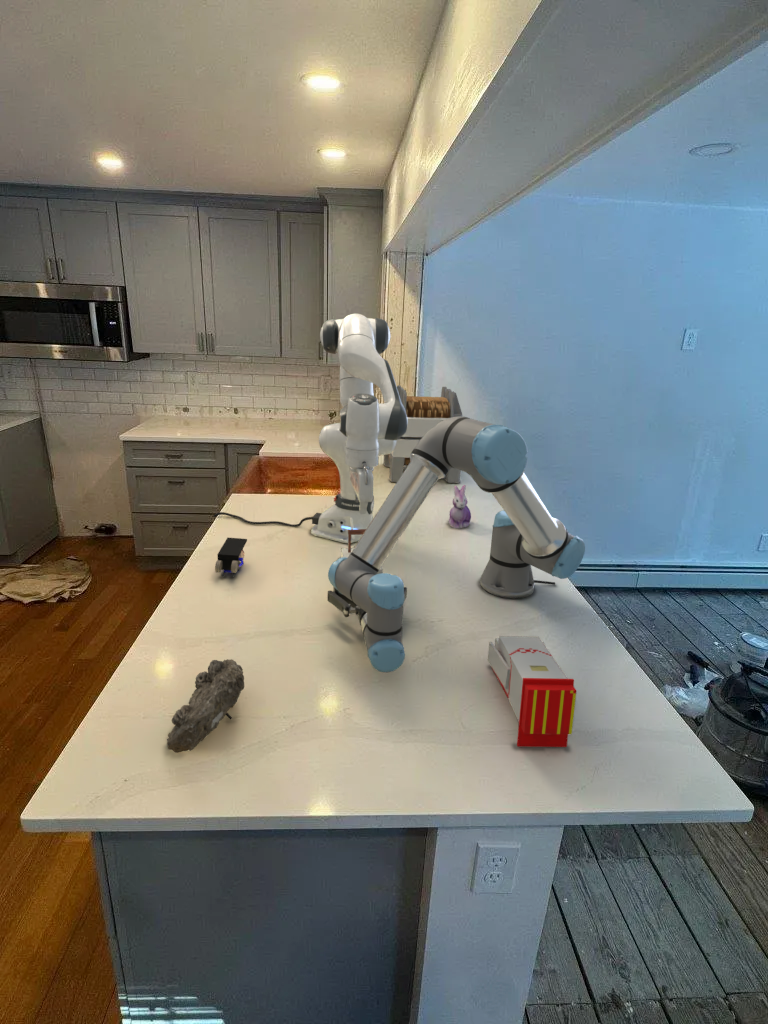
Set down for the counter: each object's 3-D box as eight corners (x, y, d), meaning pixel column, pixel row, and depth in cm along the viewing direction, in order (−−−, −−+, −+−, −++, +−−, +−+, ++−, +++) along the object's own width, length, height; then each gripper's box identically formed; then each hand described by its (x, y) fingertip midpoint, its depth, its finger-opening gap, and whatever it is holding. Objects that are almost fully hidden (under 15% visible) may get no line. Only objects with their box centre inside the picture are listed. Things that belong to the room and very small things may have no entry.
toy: (536, 619, 129) (586, 686, 99) (531, 673, 131) (578, 754, 102) (483, 618, 128) (517, 685, 99) (479, 672, 131) (511, 753, 102)
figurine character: (238, 584, 162) (249, 557, 175) (236, 562, 158) (247, 536, 172) (215, 584, 161) (227, 556, 175) (212, 561, 158) (225, 535, 171)
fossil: (192, 660, 117) (244, 628, 112) (224, 691, 120) (276, 661, 115) (142, 746, 98) (202, 712, 93) (182, 779, 101) (242, 748, 96)
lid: (341, 551, 160) (341, 526, 158) (374, 550, 162) (375, 525, 160) (346, 573, 147) (347, 546, 145) (382, 572, 149) (383, 545, 146)
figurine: (456, 530, 205) (460, 491, 199) (441, 521, 213) (444, 483, 208) (477, 527, 209) (481, 488, 204) (461, 518, 217) (465, 480, 212)
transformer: (382, 463, 289) (386, 382, 275) (445, 464, 293) (451, 384, 279) (390, 482, 257) (394, 392, 243) (460, 483, 261) (468, 394, 247)
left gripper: (380, 468, 140) (378, 520, 145) (368, 448, 159) (366, 495, 164) (354, 468, 139) (353, 521, 144) (345, 448, 158) (344, 495, 163)
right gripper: (322, 639, 130) (316, 594, 149) (427, 632, 134) (408, 590, 154) (322, 610, 127) (316, 569, 147) (429, 604, 132) (409, 565, 151)
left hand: (360, 507), depth 154 cm, fingers open, 8 cm apart
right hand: (363, 580), depth 150 cm, fingers open, 13 cm apart
